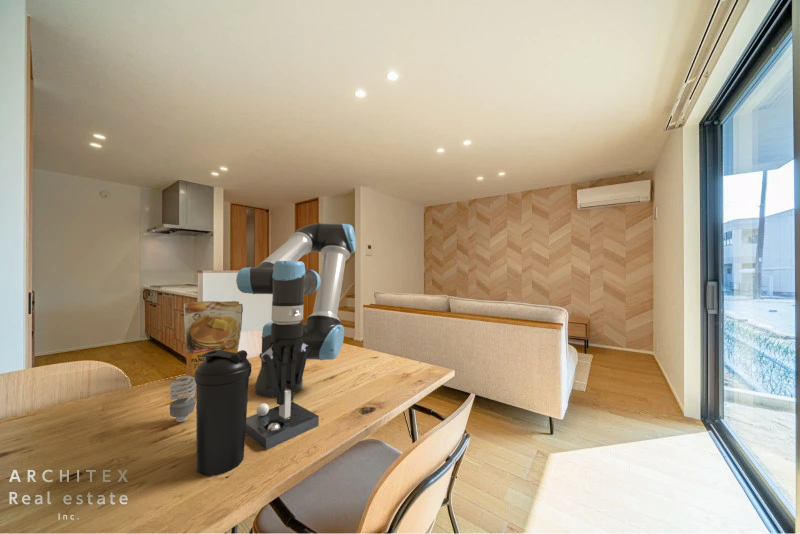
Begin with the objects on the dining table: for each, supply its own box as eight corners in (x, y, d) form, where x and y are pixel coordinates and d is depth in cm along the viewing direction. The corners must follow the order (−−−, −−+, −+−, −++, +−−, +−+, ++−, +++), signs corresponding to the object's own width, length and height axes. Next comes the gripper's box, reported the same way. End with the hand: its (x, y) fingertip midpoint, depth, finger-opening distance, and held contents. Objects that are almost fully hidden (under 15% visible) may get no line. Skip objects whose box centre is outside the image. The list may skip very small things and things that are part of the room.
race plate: (240, 429, 74) (241, 419, 74) (291, 409, 84) (291, 401, 85) (265, 450, 65) (266, 438, 65) (318, 425, 76) (318, 415, 76)
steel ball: (262, 426, 70) (275, 417, 73) (265, 437, 71) (278, 429, 73) (268, 430, 68) (281, 422, 71) (272, 442, 69) (284, 433, 71)
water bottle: (209, 448, 66) (212, 345, 66) (256, 446, 67) (259, 346, 67) (178, 480, 56) (183, 359, 56) (234, 478, 56) (238, 359, 57)
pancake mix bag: (182, 376, 108) (185, 301, 109) (240, 370, 116) (243, 300, 117) (177, 383, 102) (180, 303, 102) (239, 376, 110) (242, 301, 111)
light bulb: (200, 419, 78) (201, 374, 78) (178, 429, 73) (180, 381, 73) (185, 415, 80) (186, 371, 80) (162, 425, 75) (164, 378, 75)
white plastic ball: (254, 415, 76) (254, 404, 76) (265, 411, 78) (265, 400, 78) (259, 419, 74) (260, 407, 74) (271, 415, 76) (271, 403, 76)
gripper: (269, 327, 66) (266, 431, 66) (318, 320, 76) (315, 411, 76) (254, 322, 71) (251, 420, 70) (302, 317, 81) (299, 402, 81)
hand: (284, 415), depth 73 cm, fingers closed
